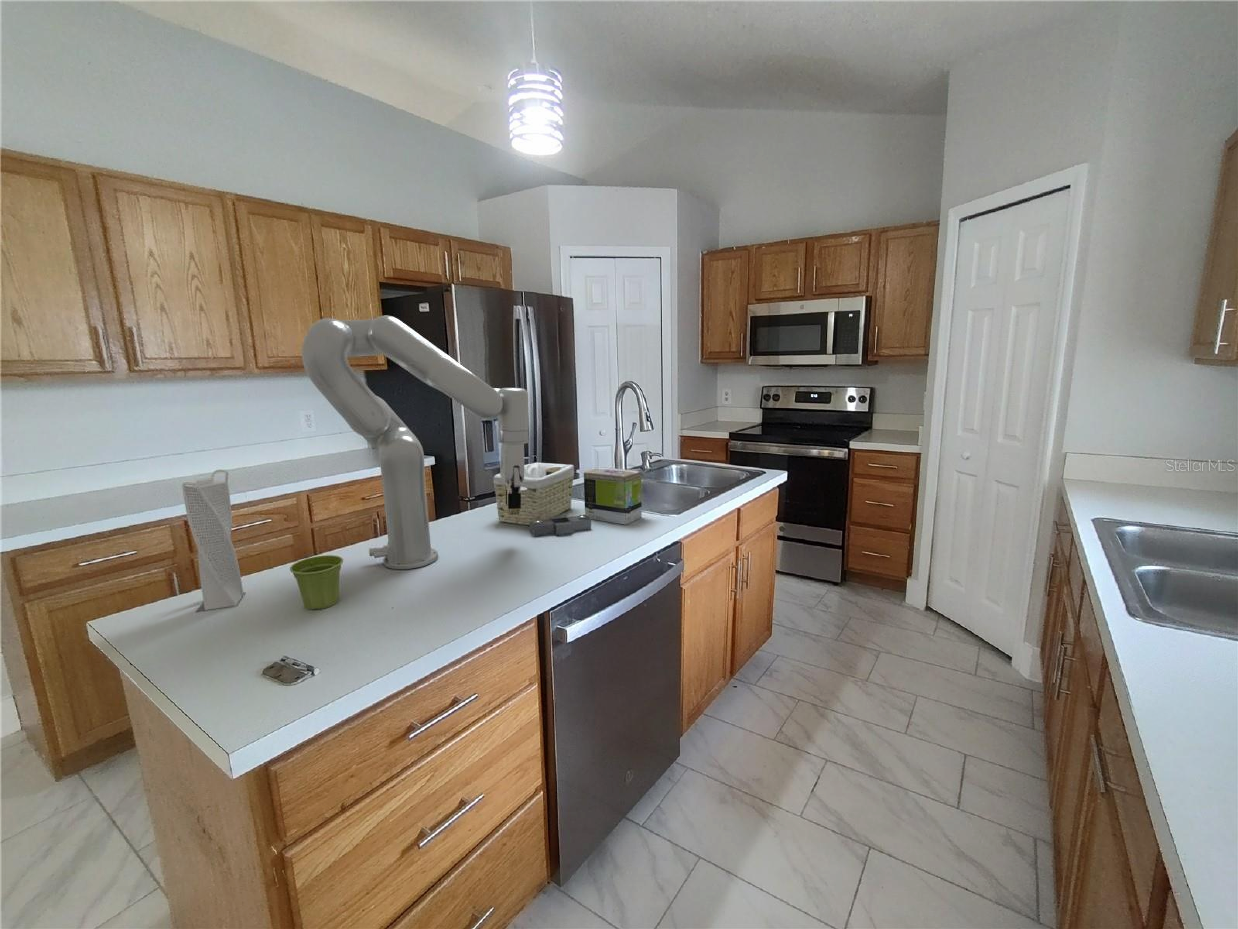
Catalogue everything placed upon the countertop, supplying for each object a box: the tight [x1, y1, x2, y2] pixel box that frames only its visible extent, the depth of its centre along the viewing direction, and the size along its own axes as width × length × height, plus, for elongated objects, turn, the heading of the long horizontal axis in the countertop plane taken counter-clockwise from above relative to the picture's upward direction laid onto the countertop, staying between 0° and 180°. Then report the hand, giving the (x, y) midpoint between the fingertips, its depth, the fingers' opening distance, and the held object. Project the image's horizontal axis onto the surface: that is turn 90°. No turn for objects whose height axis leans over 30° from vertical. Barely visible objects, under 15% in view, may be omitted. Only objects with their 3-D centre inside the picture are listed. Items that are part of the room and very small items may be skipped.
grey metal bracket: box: [529, 514, 592, 537], centre depth 157 cm, size 17×9×4 cm, turn 110°
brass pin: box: [507, 483, 520, 515], centre depth 144 cm, size 3×3×8 cm
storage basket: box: [493, 462, 575, 526], centre depth 172 cm, size 24×16×15 cm
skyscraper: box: [181, 469, 246, 613], centre depth 111 cm, size 8×8×28 cm
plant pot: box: [289, 554, 344, 611], centre depth 112 cm, size 9×9×9 cm
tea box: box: [583, 466, 643, 525], centre depth 167 cm, size 15×10×15 cm, turn 58°
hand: (513, 505), depth 144 cm, fingers closed on brass pin, 3 cm apart
